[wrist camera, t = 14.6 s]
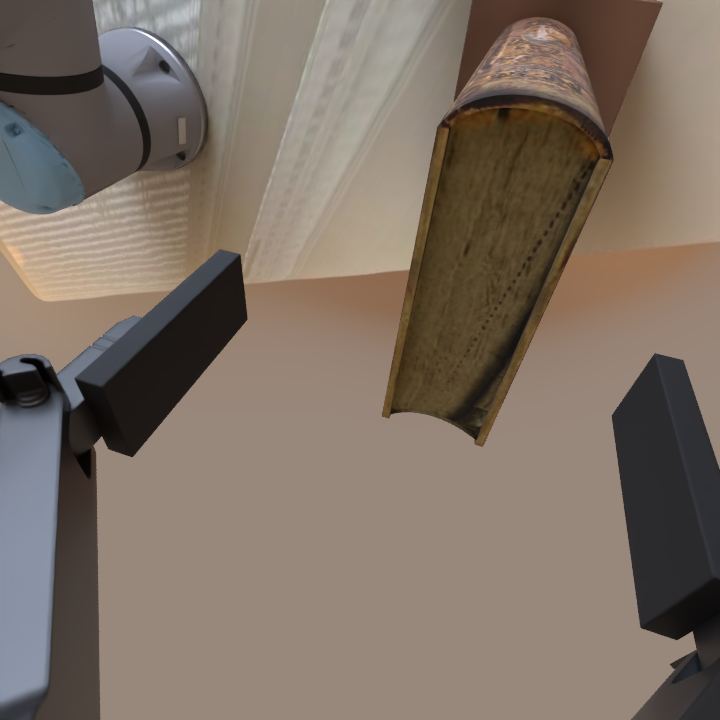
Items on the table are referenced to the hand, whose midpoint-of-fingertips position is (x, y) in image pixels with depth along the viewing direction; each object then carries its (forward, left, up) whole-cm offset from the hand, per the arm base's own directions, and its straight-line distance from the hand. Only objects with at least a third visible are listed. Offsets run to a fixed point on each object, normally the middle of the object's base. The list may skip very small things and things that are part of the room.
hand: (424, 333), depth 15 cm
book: (+1, -2, -29) cm, 30 cm away
